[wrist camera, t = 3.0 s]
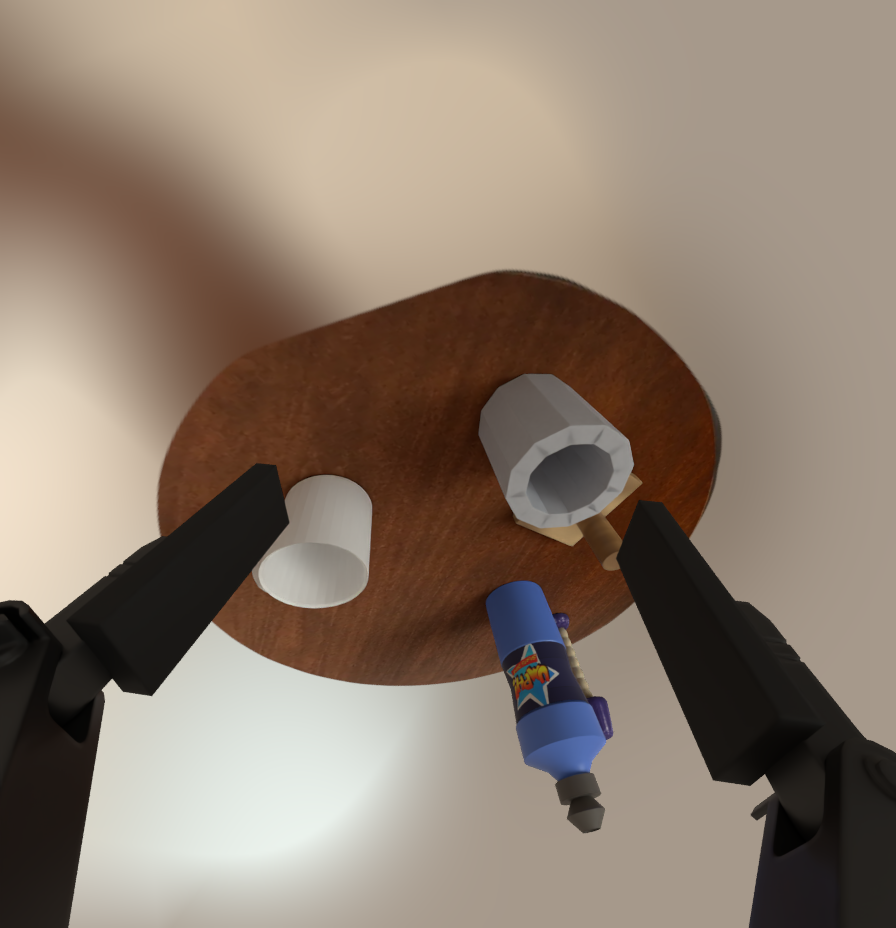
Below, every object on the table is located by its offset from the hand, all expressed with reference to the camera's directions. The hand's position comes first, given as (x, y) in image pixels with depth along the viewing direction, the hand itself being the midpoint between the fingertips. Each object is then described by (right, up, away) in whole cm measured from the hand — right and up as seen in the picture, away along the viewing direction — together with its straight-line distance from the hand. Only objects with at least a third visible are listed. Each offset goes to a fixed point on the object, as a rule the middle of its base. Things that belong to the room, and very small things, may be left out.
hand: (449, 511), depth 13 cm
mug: (-14, -3, +25) cm, 29 cm away
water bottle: (+10, -19, +40) cm, 46 cm away
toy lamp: (+18, -25, +46) cm, 55 cm away
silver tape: (+8, +6, +22) cm, 24 cm away
